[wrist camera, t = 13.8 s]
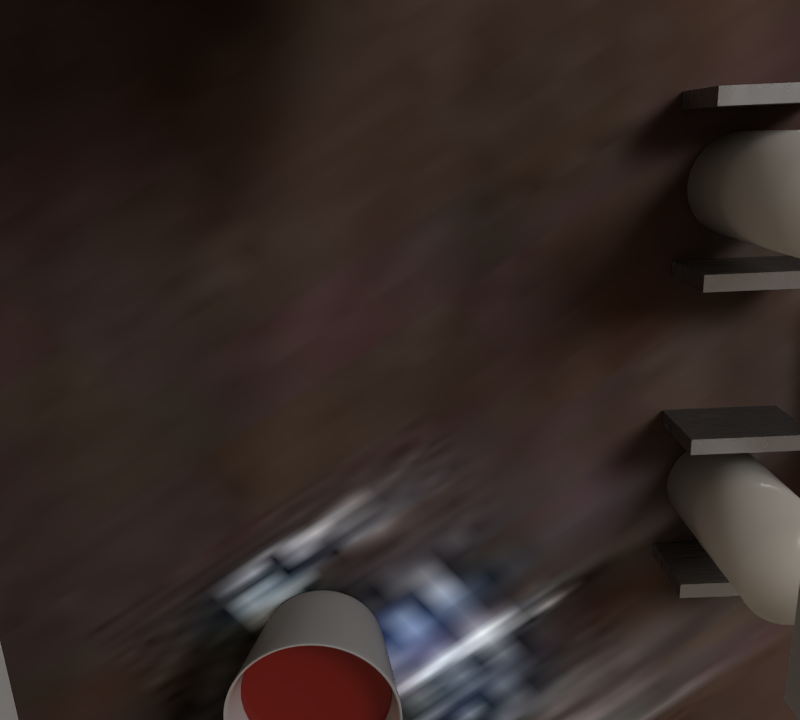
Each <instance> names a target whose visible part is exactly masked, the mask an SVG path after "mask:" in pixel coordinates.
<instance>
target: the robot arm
mask: <svg viewBox="0 0 800 720" xmlns="http://www.w3.org/2000/svg"><path fill="white" fill-rule="evenodd" d="M785 701H786V702H787V703H788V705H789V706H790V708H791V709H792V711H793V712H794V714H795V715H796V716H797V718H798V719H799V720H800V584H799V592H798V600H797V607H796V615H795V623H794V631H793V638H792V646H791V654H790V661H789V669H788V677H787V684H786V692H785ZM0 720H18V716H17V712H16V708H15V704H14V699H13V695H12V691H11V686H10V682H9V678H8V673H7V669H6V665H5V660H4V656H3V652H2V647H1V643H0Z"/></svg>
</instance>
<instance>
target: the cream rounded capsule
mask: <svg viewBox="0 0 800 720" xmlns="http://www.w3.org/2000/svg"><path fill="white" fill-rule="evenodd" d="M667 494H668V498H669V501H670V503H671V505H672V506H673V508H674V509H675V511H676V512H677V513H678V515H679V516H680V517H681V519H682V520H683V521H684V523H685V524H686V525H687V527H688V528H689V529H690V531H691V532H692V533H693V534H694V536H695V537H696V538H697V540H698V541H699V542H700V544H701V545H702V546H703V548H704V549H705V550H706V552H707V553H708V554H709V556H710V557H711V558H712V560H713V561H714V562H715V564H716V565H717V566H718V568H719V569H720V570H721V571H722V573H723V574H724V575H725V577H726V578H727V579H728V581H729V582H730V583H731V585H732V586H733V587H734V589H735V590H736V591H737V593H738V594H739V595H740V597H741V598H742V599H743V601H744V602H745V603H746V605H747V606H748V607H749V608H750V609H751V610H752V612H753V613H755V614H756V615H757V616H759V617H760V618H762V619H764V620H766V621H769V622H772V623H776V624H782V625H794V623H795V615H796V607H797V600H798V592H799V584H800V498H799V497H798V496H797V495H796V494H794V493H793V492H792V491H791V490H790V489H789V488H788V487H787V486H785V485H784V484H783V483H782V482H781V481H780V480H779V479H778V478H776V477H775V476H774V475H773V474H772V473H771V472H770V471H769V470H767V469H766V468H765V467H764V466H763V465H762V464H761V463H760V462H758V461H757V460H756V459H755V458H754V457H753V456H752V455H751V454H749V453H730V454H706V455H690V454H689V453H688V452H685V453H684V454H683V455H682V456H681V457H680V458H679V459H678V460H677V461H676V463H675V464H674V466H673V467H672V469H671V471H670V474H669V477H668V481H667Z"/></svg>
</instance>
